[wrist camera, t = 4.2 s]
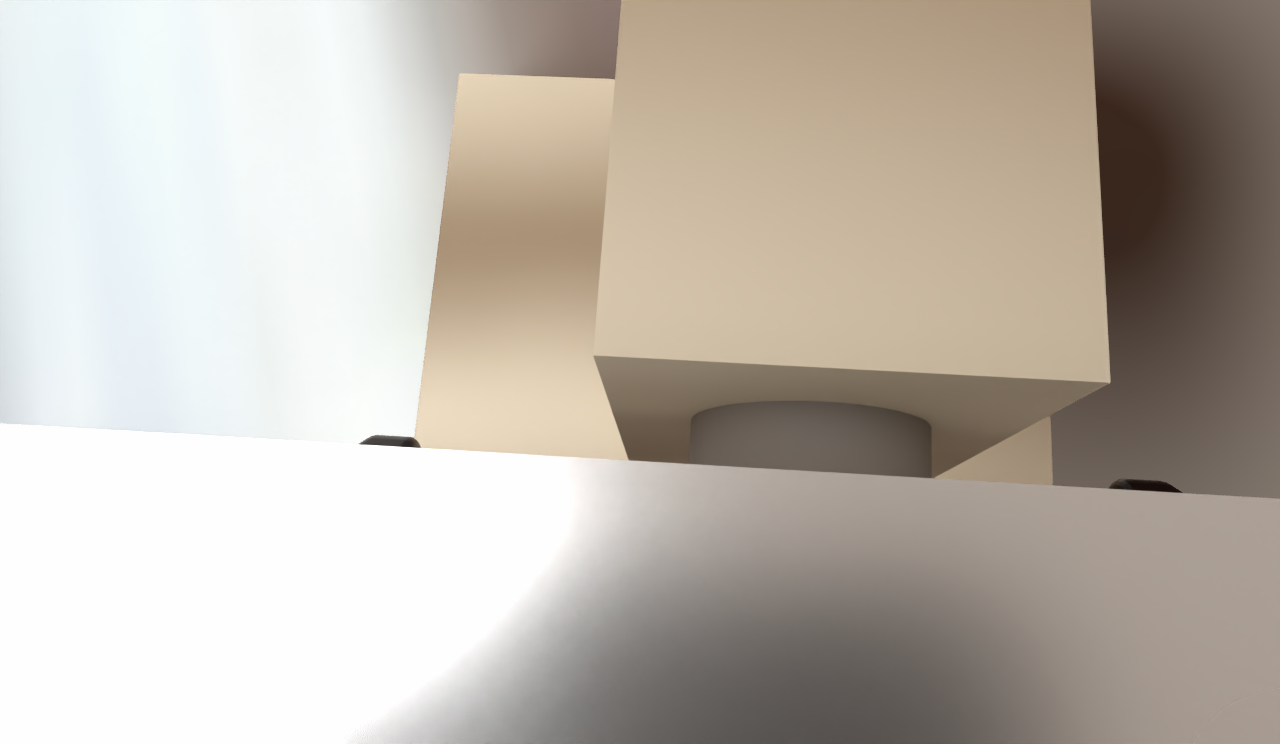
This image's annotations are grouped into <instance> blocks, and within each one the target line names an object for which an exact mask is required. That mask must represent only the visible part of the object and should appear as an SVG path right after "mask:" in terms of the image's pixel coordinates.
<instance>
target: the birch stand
mask: <svg viewBox="0 0 1280 744" xmlns="http://www.w3.org/2000/svg"><path fill="white" fill-rule="evenodd" d="M1102 231H1103V230H1102V212H1101V193H1100V174H1099V155H1098V136H1097V117H1096V99H1095V80H1094V61H1093V43H1092V23H1091V4H1090V0H621V12H620V25H619V37H618V50H617V62H616V75H615V79H597V78H569V77H542V76H515V75H488V74H461V73H459V80H458V88H457V96H456V105H455V113H454V121H453V129H452V137H451V145H450V153H449V161H448V169H447V178H446V186H445V194H444V202H443V210H442V218H441V226H440V234H439V242H438V251H437V259H436V267H435V275H434V283H433V291H432V299H431V307H430V315H429V324H428V332H427V340H426V348H425V356H424V364H423V372H422V380H421V388H420V396H419V405H418V413H417V421H416V429H415V437H414V439H416V440H417V441H418V442H419V444H420V446H421V448H425V449H442V450H459V451H476V452H493V453H510V454H527V455H544V456H561V457H578V458H595V459H612V460H629V461H646V462H663V463H680V464H697V465H714V466H731V467H748V468H765V469H782V470H799V471H816V472H833V473H850V474H867V475H884V476H901V477H918V478H935V479H952V480H968V481H985V482H1003V483H1019V484H1036V485H1053V473H1052V472H1053V470H1052V444H1051V416H1050V415H1052V414H1053V413H1055V412H1057V411H1059V410H1061V409H1063V408H1065V407H1067V406H1068V405H1070V404H1072V403H1074V402H1076V401H1078V400H1079V399H1081V398H1083V397H1085V396H1087V395H1089V394H1091V393H1093V392H1094V391H1096V390H1098V389H1100V388H1102V387H1104V386H1105V385H1107V384H1109V383H1111V382H1110V363H1109V345H1108V326H1107V306H1106V287H1105V268H1104V251H1103V232H1102Z"/></svg>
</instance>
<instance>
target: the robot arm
mask: <svg viewBox="0 0 1280 744" xmlns="http://www.w3.org/2000/svg"><path fill="white" fill-rule="evenodd" d="M358 445H374V446H391V447H408V448H421V446H420V444H419V442H418V441H417V440H416V439H414V438H412V437H400V436H384V435H375V436H371V437H370V438H368V439H366V440H364V441H363V442H361V443H359V444H358ZM1108 489H1121V490H1138V491H1155V492H1172V493H1183V492H1181V491H1179V490H1178V489H1176V488H1175V487H1173V486H1172V485H1170V484H1168V483H1166V482H1162V481H1151V480H1134V479H1119V480H1117V481H1115V482H1114V483H1112V484H1111V486H1110V487H1109V488H1108Z"/></svg>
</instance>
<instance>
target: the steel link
mask: <svg viewBox="0 0 1280 744" xmlns="http://www.w3.org/2000/svg"><path fill="white" fill-rule="evenodd" d="M0 744H1280V499H1274V498H1257V497H1240V496H1239V497H1238V496H1223V495H1222V496H1221V495H1205V494H1189V493H1172V492H1155V491H1138V490H1121V489H1104V488H1086V487H1070V486H1053V485H1036V484H1019V483H1003V482H985V481H968V480H952V479H935V478H918V477H901V476H884V475H867V474H850V473H833V472H816V471H799V470H782V469H765V468H748V467H731V466H714V465H697V464H680V463H663V462H646V461H629V460H612V459H595V458H578V457H561V456H544V455H527V454H510V453H493V452H476V451H459V450H442V449H425V448H408V447H391V446H374V445H357V444H340V443H323V442H306V441H289V440H272V439H255V438H238V437H221V436H204V435H187V434H171V433H154V432H136V431H120V430H103V429H86V428H69V427H52V426H35V425H18V424H1V423H0Z"/></svg>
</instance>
